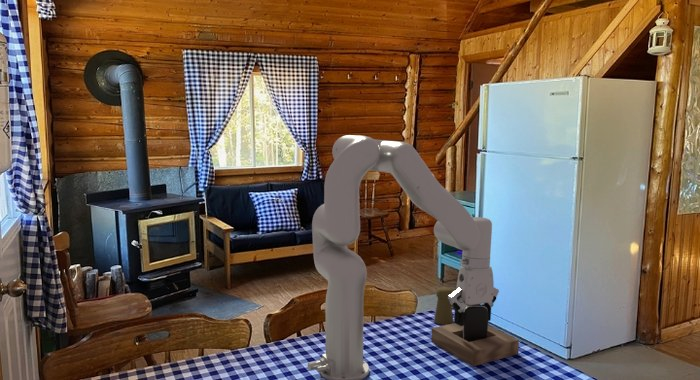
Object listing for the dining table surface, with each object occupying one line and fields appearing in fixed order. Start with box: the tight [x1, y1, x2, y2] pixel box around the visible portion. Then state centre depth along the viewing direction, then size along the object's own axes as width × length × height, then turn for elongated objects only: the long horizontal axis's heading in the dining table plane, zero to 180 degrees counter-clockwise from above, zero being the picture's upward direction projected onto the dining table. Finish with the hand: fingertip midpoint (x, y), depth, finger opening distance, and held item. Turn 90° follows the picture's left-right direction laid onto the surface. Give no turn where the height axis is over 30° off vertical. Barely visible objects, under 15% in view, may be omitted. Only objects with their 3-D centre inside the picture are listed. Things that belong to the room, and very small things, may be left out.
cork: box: [433, 286, 454, 326], centre depth 171 cm, size 6×6×11 cm
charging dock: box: [431, 322, 520, 367], centre depth 152 cm, size 16×18×4 cm
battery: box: [462, 304, 489, 342], centre depth 151 cm, size 7×4×11 cm, turn 94°
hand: (472, 321), depth 151 cm, fingers open, 9 cm apart
